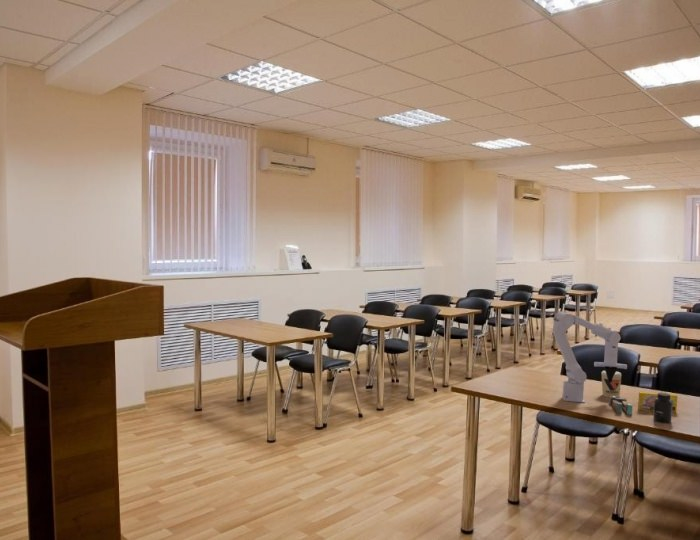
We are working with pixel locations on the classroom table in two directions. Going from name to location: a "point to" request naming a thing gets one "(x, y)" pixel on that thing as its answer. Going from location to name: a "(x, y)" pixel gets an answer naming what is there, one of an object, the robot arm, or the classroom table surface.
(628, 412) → the tongs base
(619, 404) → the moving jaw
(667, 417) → the supplement bottle
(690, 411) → the classroom table surface
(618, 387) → the coffee cup
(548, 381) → the classroom table surface
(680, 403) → the classroom table surface
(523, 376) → the classroom table surface
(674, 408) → the candy box
